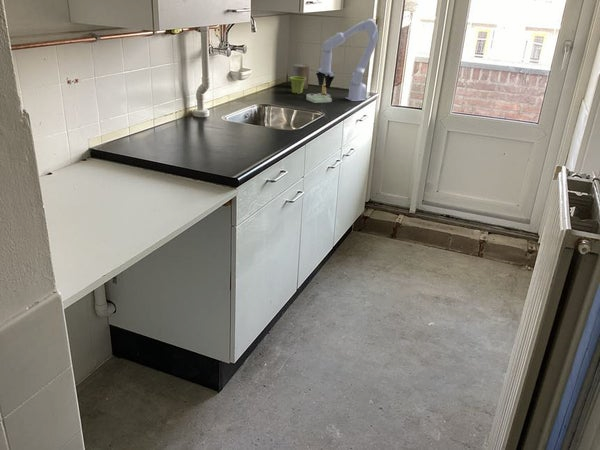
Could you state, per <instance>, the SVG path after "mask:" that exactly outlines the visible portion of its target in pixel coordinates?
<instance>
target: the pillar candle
mask: <svg viewBox="0 0 600 450" xmlns="http://www.w3.org/2000/svg"><path fill="white" fill-rule="evenodd" d="M292 75H293V76H298V77H304V78H306V80H305V82H304V86H303V90H307V89H309V77H310V65H309V64H306V63H295V64H293V72H292ZM293 76H292V77H293Z"/></svg>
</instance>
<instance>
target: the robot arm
mask: <svg viewBox="0 0 600 450" xmlns="http://www.w3.org/2000/svg"><path fill="white" fill-rule="evenodd" d="M358 32H366V33H367V35H368V38H369V39H368V42H367V43H366V46H365V49H364V51H363V54H362V55H361V57H360V60H359V62H358V65H356V68H355V70H354V71H353V72H352V73H351V75H350V78H351V79H350V82H349V88H348V89H349V90H348V97H344V98H345V99H346V100H349V101H352V102H360V101H367V99H366V98H367V97H366V96H367V85H366V84H365V83H363V76H364V73H365V69H366V68H367V66H368V63H369V61H370V59H371V57H372V55H373V54H374V53H373V52H374V50H375V48H376V46H377V43H378V42H379V38H380V37H379V31H378V26H377V24H376V22H375V20H374V19H372V18H368V19H366V20H363V21H361V22H359V23H356V24H355V25H354V26H352V27H351V28H349V29H347V30H346V31H344V32H336V33H335V35H333V36H332V37H328V38H327V40H325V41H323V42H322V51H321V52H322V53H321V61H320V67H319V68H317V72H316V73H315V74H316V77H317V81H318V86H320V87H322V84H325V86H326V89H330V88H331V85H332V82H333V80H334V78H335V76H334V72H332V71H331V70H332V58H333V54H332V53H333V48H337V47H338V46H340V45H342V44H344V43H345V42H346V39H347V38H349V37H351V36H352V35H355V34H356V33H358ZM324 81H325V83H324Z"/></svg>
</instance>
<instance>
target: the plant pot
mask: <svg viewBox="0 0 600 450" xmlns="http://www.w3.org/2000/svg"><path fill="white" fill-rule="evenodd" d="M289 79H290V83H291V85H290V86H291V93H293V94H296V93H297V95H298V94H303V91H304V89H303V86H304V82H305V80H306V78H304V77H298V76H290V77H289Z"/></svg>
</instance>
